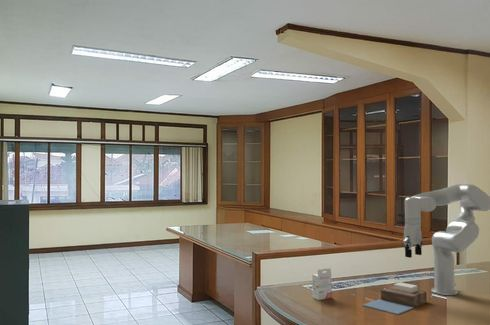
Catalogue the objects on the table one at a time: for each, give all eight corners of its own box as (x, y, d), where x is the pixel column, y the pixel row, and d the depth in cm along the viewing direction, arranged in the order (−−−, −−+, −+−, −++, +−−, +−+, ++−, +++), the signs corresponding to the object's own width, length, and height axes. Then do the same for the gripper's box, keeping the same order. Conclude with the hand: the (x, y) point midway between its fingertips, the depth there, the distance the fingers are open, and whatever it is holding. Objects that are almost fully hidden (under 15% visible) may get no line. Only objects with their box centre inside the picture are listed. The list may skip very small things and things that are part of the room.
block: (400, 287, 220) (400, 282, 220) (417, 290, 213) (417, 285, 213) (393, 289, 216) (393, 284, 216) (411, 293, 209) (411, 287, 209)
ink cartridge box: (325, 295, 223) (325, 266, 224) (332, 298, 219) (331, 268, 219) (312, 297, 219) (311, 268, 220) (318, 300, 215) (317, 270, 215)
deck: (395, 295, 224) (395, 285, 224) (426, 301, 212) (426, 291, 212) (381, 300, 214) (380, 290, 215) (412, 307, 202) (411, 296, 203)
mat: (378, 300, 215) (378, 299, 215) (413, 308, 201) (413, 307, 201) (362, 305, 206) (362, 304, 206) (397, 314, 192) (397, 313, 192)
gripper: (414, 220, 230) (415, 252, 230) (396, 222, 219) (397, 257, 218) (428, 221, 224) (429, 254, 224) (411, 223, 213) (411, 259, 213)
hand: (413, 255), depth 221 cm, fingers open, 9 cm apart
